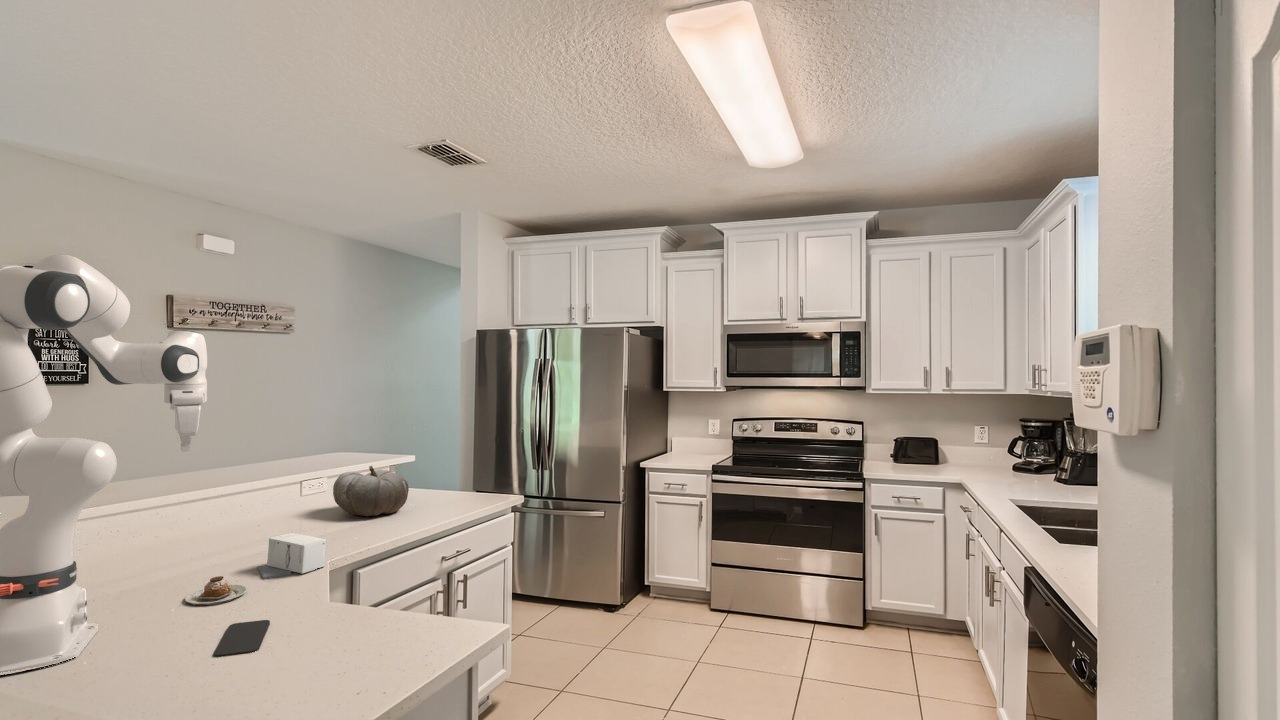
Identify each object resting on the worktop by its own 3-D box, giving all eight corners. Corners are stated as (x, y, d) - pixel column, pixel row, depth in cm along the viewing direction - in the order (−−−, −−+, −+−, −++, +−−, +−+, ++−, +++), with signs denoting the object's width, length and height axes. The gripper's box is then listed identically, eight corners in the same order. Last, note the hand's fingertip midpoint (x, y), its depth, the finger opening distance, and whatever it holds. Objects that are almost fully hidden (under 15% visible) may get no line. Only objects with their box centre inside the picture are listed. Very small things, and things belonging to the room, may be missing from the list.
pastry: (259, 592, 155) (259, 573, 155) (213, 611, 143) (213, 590, 143) (219, 586, 158) (219, 567, 158) (171, 604, 147) (171, 584, 147)
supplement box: (267, 537, 171) (304, 544, 166) (292, 532, 178) (327, 538, 173) (265, 566, 170) (302, 574, 166) (289, 559, 177) (325, 567, 173)
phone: (212, 655, 121) (229, 623, 135) (211, 660, 121) (229, 627, 135) (258, 649, 123) (271, 619, 137) (258, 654, 123) (270, 623, 137)
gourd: (312, 510, 224) (323, 459, 226) (362, 507, 248) (372, 460, 250) (372, 524, 217) (383, 471, 219) (418, 519, 240) (428, 472, 242)
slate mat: (290, 574, 166) (290, 572, 166) (263, 579, 163) (263, 576, 163) (283, 564, 174) (283, 562, 174) (257, 568, 171) (257, 566, 171)
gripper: (168, 393, 171) (168, 446, 171) (172, 398, 155) (171, 456, 155) (197, 393, 175) (197, 445, 175) (204, 397, 159) (204, 454, 159)
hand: (185, 450), depth 165 cm, fingers closed
